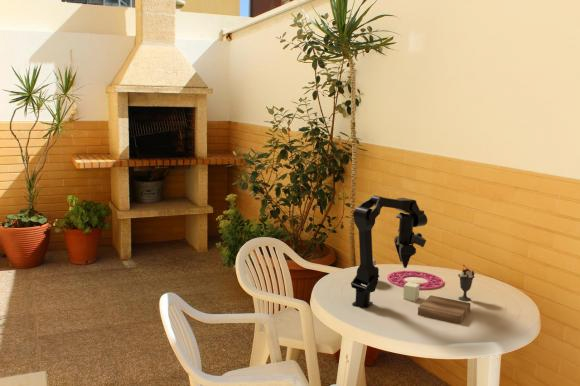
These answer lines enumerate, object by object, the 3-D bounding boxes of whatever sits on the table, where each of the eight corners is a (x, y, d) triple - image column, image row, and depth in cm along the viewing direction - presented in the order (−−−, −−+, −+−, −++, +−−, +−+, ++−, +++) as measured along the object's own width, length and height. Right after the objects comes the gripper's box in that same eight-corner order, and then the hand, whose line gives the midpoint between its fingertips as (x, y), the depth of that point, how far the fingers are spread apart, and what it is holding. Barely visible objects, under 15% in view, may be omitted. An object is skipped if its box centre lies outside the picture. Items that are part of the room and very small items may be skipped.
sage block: (414, 301, 231) (415, 287, 230) (403, 299, 234) (403, 285, 233) (418, 298, 236) (419, 284, 235) (407, 295, 238) (407, 282, 237)
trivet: (395, 290, 245) (395, 288, 245) (381, 272, 270) (381, 270, 270) (451, 290, 247) (451, 288, 247) (433, 272, 272) (433, 270, 271)
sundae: (454, 300, 234) (457, 265, 232) (458, 295, 240) (460, 261, 238) (471, 303, 231) (474, 267, 229) (474, 298, 237) (477, 263, 235)
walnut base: (459, 323, 209) (460, 316, 209) (417, 314, 217) (418, 307, 217) (470, 310, 223) (470, 303, 222) (429, 302, 231) (430, 295, 230)
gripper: (430, 234, 227) (427, 272, 229) (421, 224, 245) (418, 259, 248) (402, 233, 227) (399, 270, 229) (395, 223, 245) (392, 258, 248)
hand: (403, 264), depth 239 cm, fingers open, 9 cm apart
